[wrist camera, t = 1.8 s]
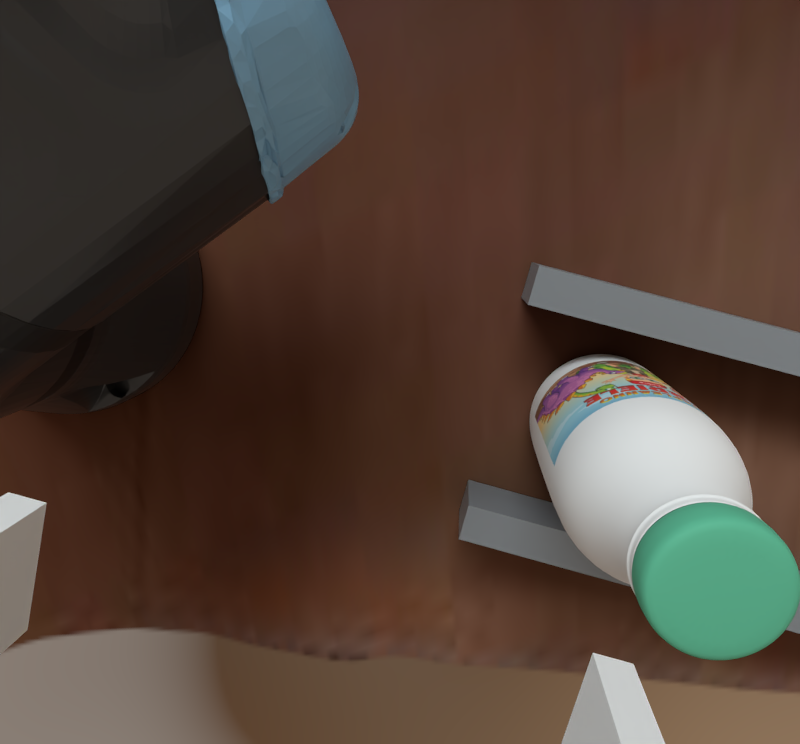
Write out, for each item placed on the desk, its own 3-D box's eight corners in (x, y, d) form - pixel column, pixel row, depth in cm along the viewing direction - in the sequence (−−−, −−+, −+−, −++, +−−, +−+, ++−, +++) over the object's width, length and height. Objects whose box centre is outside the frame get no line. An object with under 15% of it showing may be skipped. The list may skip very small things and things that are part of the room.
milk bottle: (669, 478, 40) (862, 709, 21) (532, 487, 41) (595, 717, 22) (664, 345, 39) (867, 458, 19) (523, 357, 40) (580, 477, 20)
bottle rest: (459, 510, 42) (458, 539, 38) (531, 262, 39) (539, 265, 35) (877, 626, 41) (921, 667, 37) (986, 380, 38) (1046, 398, 34)
